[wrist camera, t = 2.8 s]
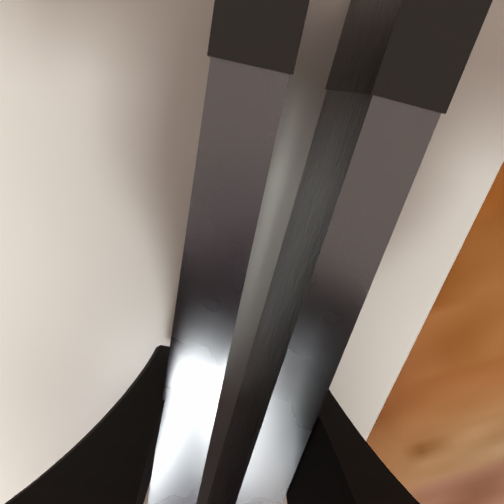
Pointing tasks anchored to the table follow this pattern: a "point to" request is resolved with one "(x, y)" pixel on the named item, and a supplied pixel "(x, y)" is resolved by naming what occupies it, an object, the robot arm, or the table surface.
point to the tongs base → (341, 225)
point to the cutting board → (183, 212)
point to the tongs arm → (222, 224)
